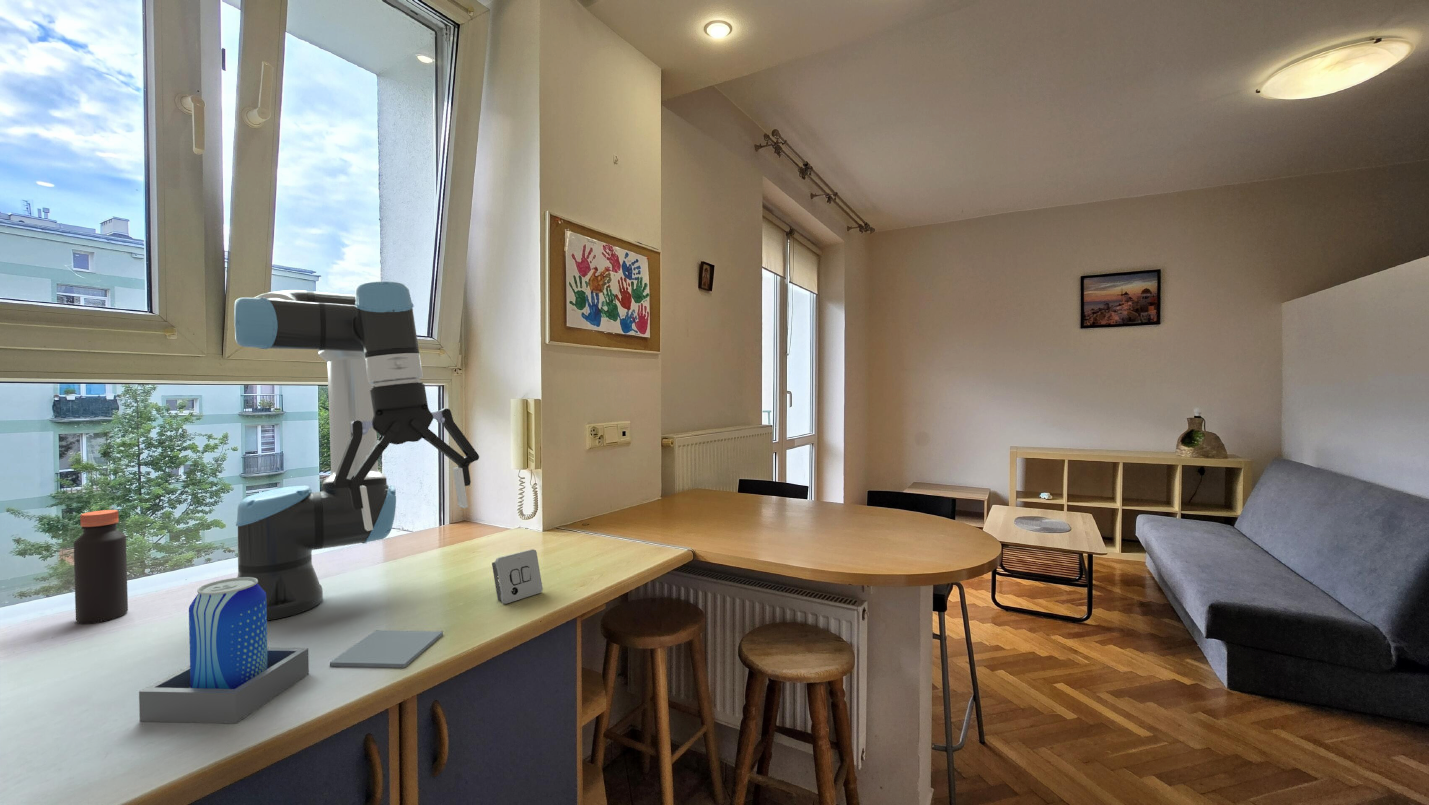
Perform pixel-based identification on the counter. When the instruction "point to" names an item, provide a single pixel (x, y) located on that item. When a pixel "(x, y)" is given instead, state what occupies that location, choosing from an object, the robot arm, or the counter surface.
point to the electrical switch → (517, 576)
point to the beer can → (227, 633)
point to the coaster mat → (387, 649)
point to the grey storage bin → (222, 692)
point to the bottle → (100, 568)
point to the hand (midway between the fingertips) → (418, 517)
